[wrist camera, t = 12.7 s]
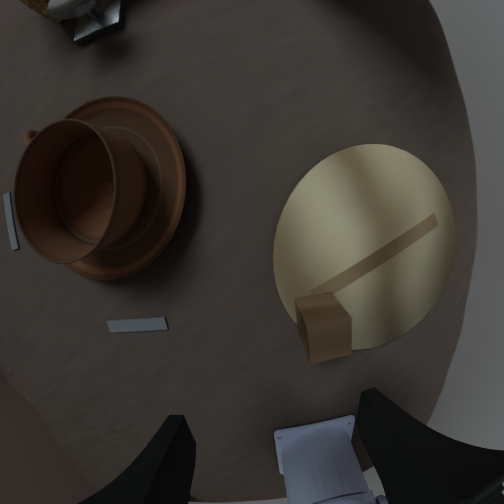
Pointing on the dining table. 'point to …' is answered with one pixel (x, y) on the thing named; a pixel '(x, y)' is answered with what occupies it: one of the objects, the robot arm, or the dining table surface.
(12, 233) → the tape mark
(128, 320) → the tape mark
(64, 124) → the cup and saucer
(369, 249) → the cream disc with block
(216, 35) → the dining table surface
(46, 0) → the bread
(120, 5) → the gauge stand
